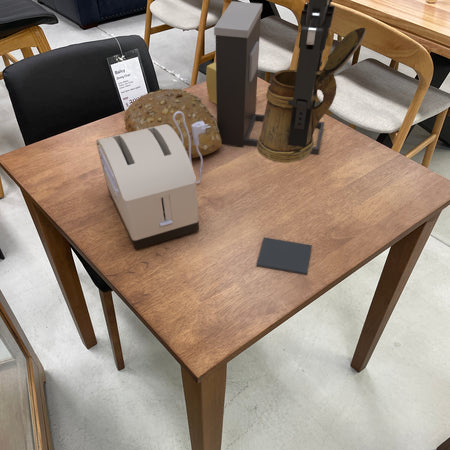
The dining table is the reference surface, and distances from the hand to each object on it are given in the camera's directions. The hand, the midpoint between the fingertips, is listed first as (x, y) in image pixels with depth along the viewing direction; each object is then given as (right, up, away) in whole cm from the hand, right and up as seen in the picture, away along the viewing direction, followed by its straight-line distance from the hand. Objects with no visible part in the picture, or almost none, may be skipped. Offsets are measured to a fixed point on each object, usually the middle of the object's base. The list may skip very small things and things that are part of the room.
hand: (300, 131), depth 69 cm
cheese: (-10, +32, +59) cm, 68 cm away
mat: (0, -18, +19) cm, 26 cm away
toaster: (-24, -6, +29) cm, 38 cm away
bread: (-26, +15, +46) cm, 54 cm away
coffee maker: (+1, +18, +48) cm, 51 cm away
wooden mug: (0, -2, +3) cm, 3 cm away
